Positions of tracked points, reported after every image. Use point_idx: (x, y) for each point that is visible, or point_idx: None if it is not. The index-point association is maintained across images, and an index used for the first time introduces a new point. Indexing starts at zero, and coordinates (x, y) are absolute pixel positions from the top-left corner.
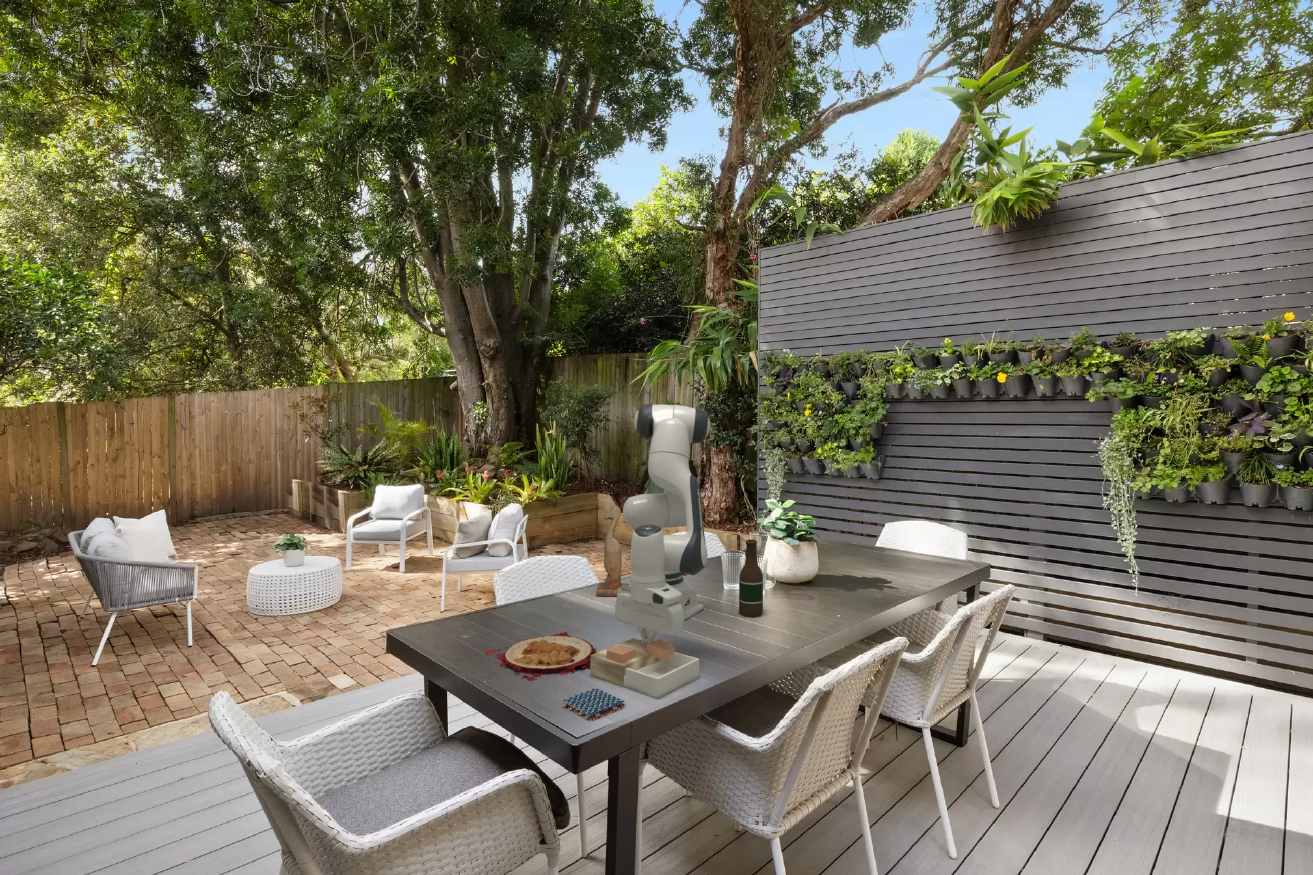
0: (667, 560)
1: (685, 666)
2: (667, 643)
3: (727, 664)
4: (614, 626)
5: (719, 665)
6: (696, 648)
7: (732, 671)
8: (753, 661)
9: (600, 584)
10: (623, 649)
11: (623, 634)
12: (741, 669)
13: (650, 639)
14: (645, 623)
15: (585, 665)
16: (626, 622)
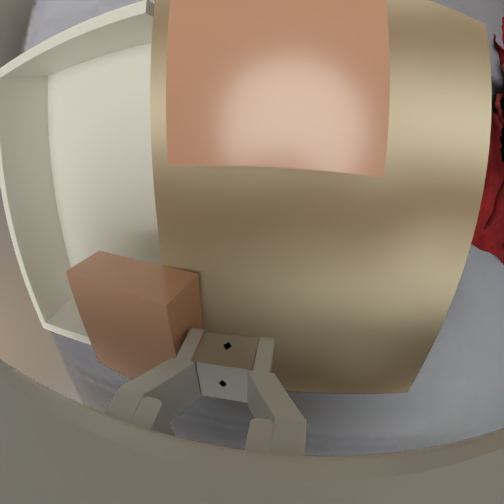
0: None
1: (16, 246)
2: (132, 376)
3: (109, 384)
4: (493, 421)
5: (114, 376)
6: (239, 437)
7: (73, 354)
8: (98, 405)
9: None
10: (258, 77)
11: (468, 413)
12: (74, 368)
13: (168, 359)
14: (133, 474)
15: (501, 109)
16: (446, 450)
